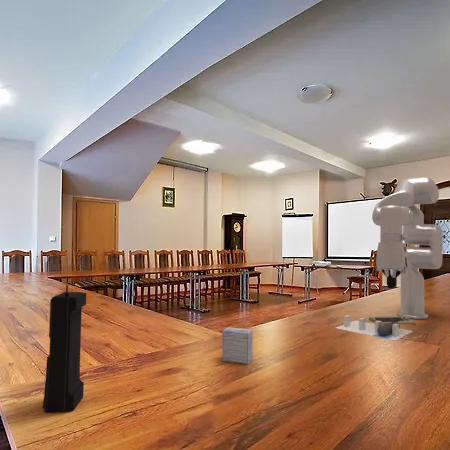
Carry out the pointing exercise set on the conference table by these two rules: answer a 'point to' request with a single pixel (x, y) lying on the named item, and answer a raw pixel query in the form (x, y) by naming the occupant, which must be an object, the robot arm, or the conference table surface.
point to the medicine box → (237, 345)
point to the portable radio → (64, 353)
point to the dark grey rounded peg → (386, 328)
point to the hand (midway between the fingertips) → (391, 287)
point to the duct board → (372, 328)
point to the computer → (392, 320)
